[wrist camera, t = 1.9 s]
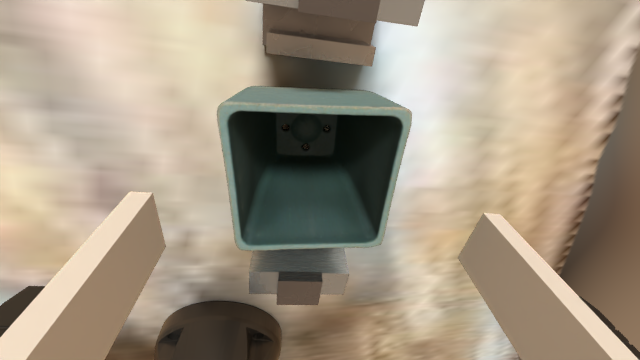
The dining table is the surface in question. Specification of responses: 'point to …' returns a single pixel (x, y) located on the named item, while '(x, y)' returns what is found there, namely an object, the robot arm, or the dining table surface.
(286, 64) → the dining table surface
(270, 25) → the holder
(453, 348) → the dining table surface
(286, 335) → the dining table surface
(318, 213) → the flower pot
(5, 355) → the robot arm
